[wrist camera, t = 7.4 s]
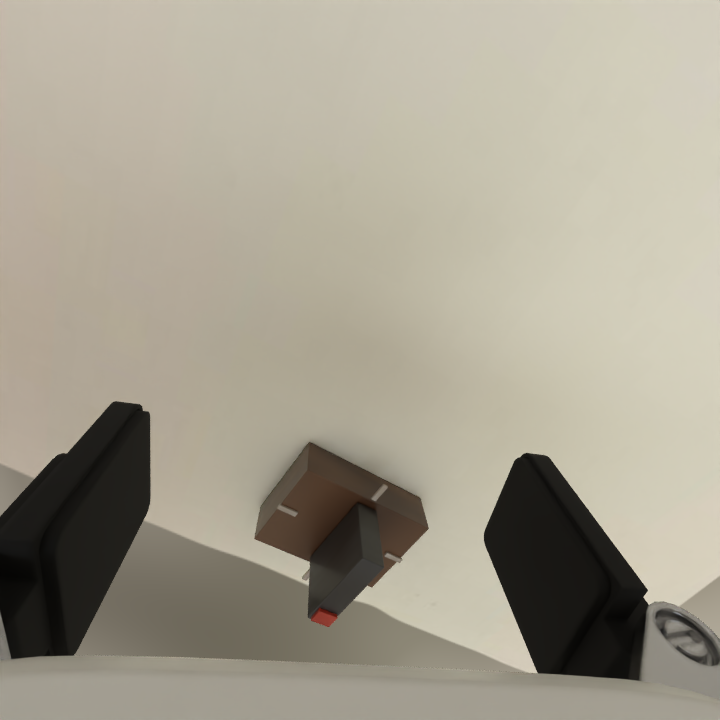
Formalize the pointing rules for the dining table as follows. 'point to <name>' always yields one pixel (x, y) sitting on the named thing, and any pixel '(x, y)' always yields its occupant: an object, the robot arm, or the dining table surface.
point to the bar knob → (344, 564)
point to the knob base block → (336, 507)
